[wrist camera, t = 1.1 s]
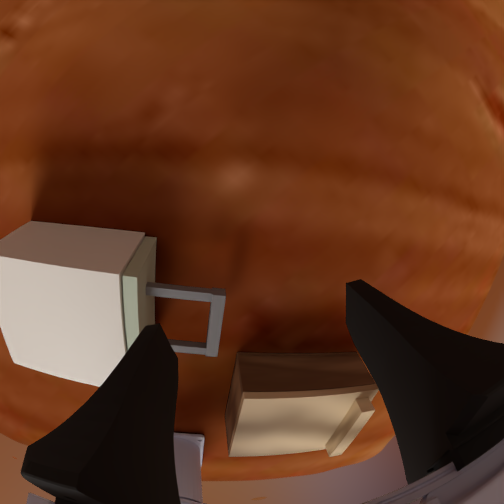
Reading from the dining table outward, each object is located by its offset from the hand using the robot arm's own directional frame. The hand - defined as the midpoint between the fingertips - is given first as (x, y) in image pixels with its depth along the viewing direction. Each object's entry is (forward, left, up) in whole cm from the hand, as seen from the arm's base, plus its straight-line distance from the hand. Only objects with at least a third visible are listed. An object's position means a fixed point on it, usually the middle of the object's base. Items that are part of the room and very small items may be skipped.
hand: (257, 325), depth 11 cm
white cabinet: (-5, +11, -10) cm, 16 cm away
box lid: (-16, -8, -6) cm, 18 cm away
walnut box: (-16, -8, -10) cm, 20 cm away
